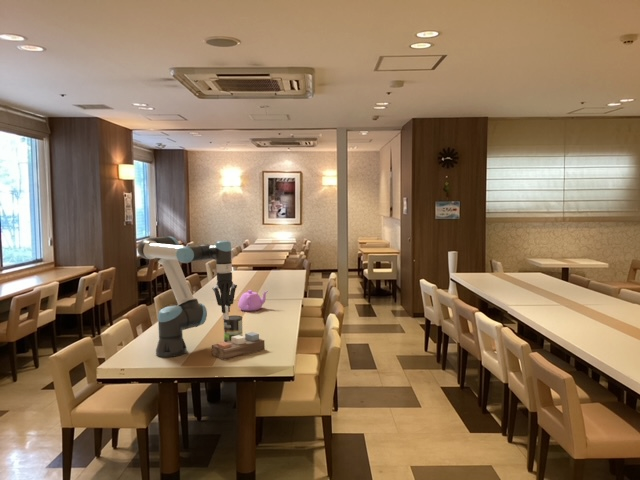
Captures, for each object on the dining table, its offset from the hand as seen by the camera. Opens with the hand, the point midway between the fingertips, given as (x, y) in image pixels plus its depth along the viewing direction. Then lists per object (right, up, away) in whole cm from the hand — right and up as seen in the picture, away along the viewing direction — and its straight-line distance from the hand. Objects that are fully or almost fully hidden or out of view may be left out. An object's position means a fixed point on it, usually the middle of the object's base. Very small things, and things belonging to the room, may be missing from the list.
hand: (226, 319), depth 251 cm
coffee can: (0, -17, +24) cm, 30 cm away
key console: (+5, -18, +7) cm, 20 cm away
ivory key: (+5, -13, +6) cm, 15 cm away
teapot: (-1, -11, +110) cm, 110 cm away
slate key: (+11, -13, +12) cm, 21 cm away
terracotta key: (-1, -15, +1) cm, 15 cm away
